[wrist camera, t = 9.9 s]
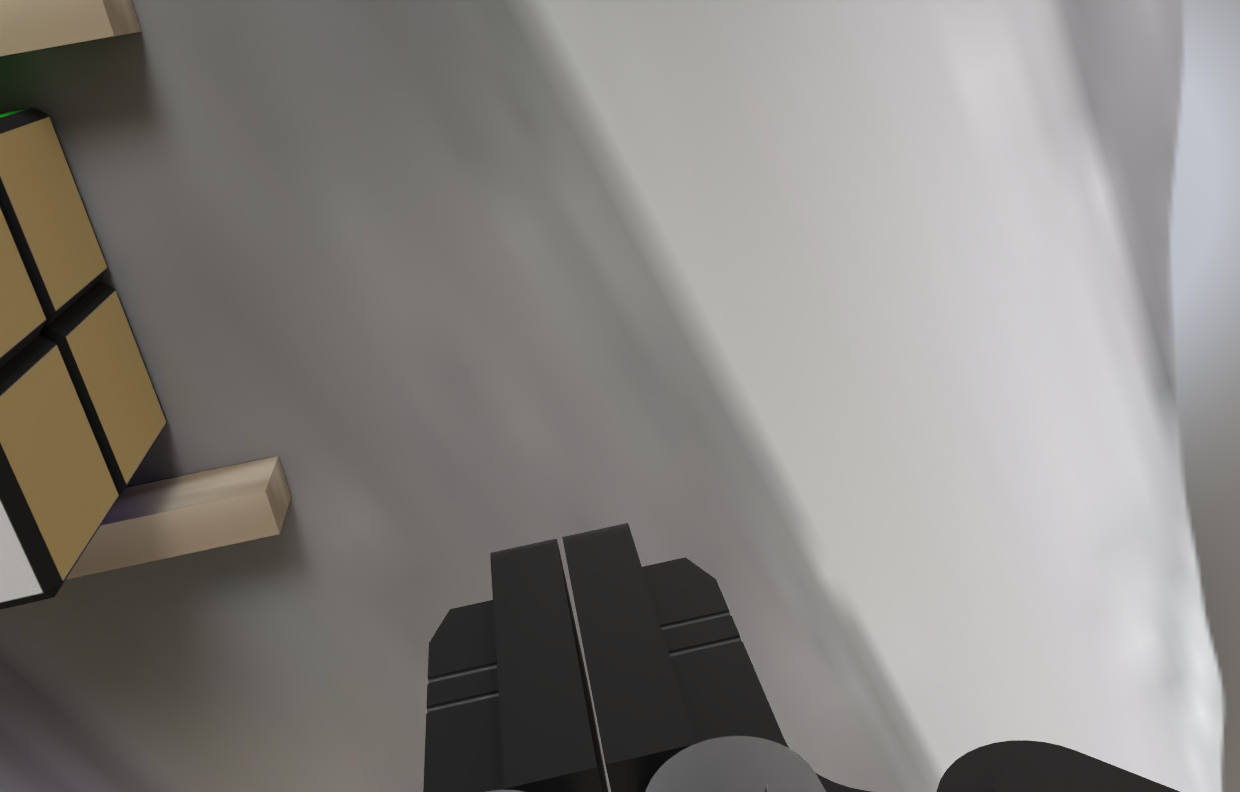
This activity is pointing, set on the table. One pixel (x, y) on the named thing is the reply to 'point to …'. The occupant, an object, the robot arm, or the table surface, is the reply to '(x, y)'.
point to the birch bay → (182, 506)
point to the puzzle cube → (59, 370)
